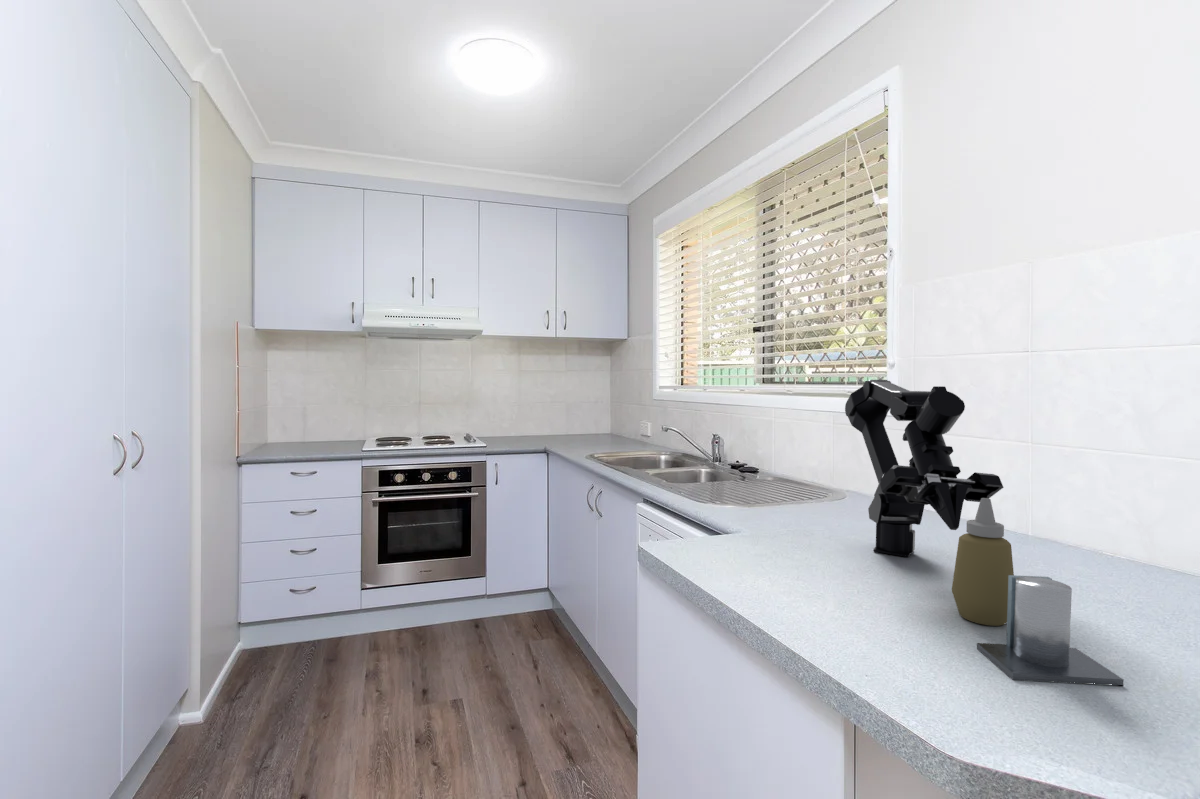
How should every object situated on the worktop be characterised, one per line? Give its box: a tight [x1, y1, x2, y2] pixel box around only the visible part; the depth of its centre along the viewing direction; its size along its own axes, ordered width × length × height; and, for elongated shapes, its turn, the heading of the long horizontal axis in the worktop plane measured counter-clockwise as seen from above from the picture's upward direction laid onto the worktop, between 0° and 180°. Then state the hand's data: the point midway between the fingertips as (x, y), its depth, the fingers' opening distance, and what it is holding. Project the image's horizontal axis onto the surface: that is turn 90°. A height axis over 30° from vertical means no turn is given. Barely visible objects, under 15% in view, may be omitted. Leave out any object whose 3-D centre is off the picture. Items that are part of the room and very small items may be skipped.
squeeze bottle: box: [951, 498, 1015, 627], centre depth 86 cm, size 8×8×18 cm
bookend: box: [976, 574, 1125, 686], centre depth 72 cm, size 8×12×10 cm, turn 84°
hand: (954, 529), depth 97 cm, fingers closed
